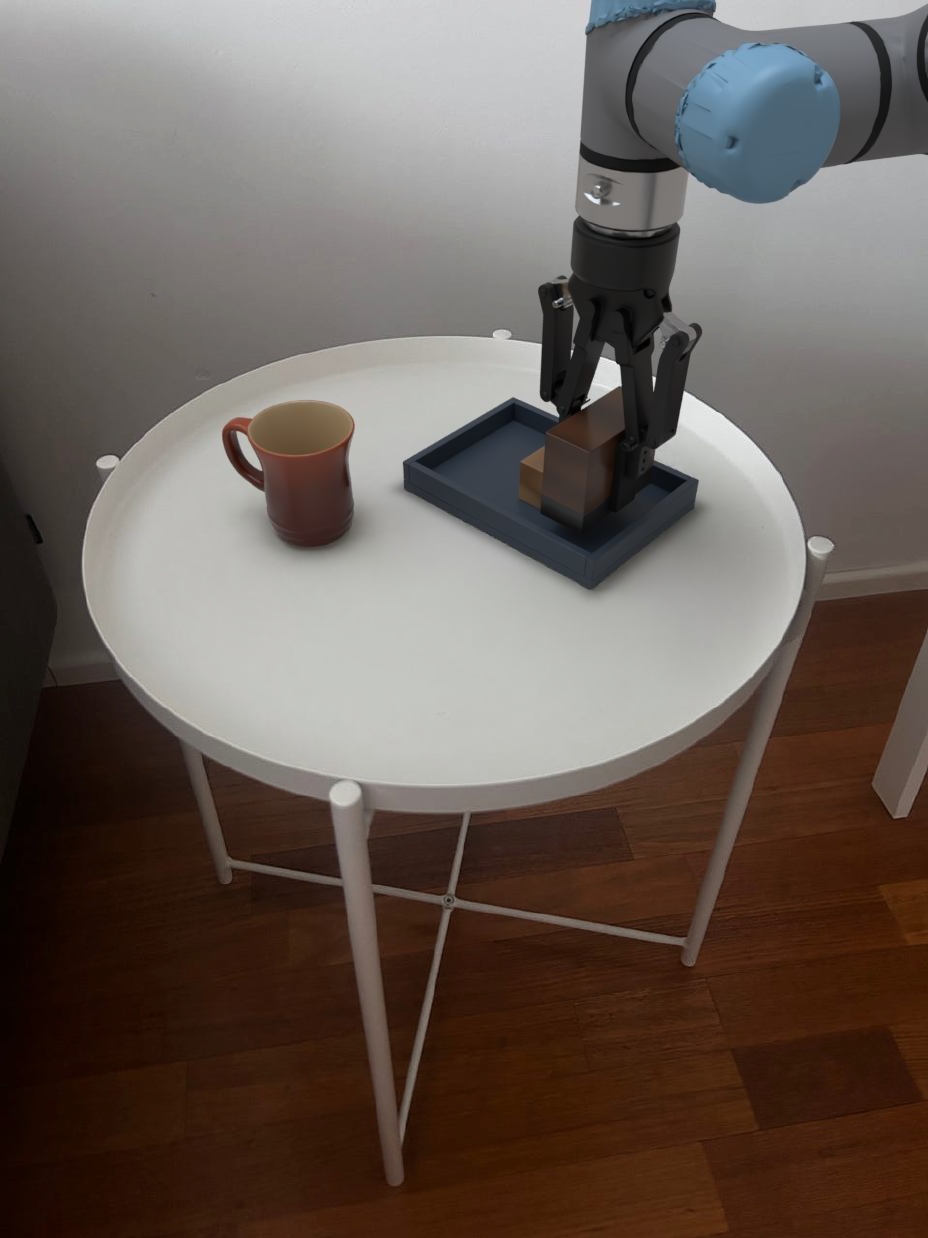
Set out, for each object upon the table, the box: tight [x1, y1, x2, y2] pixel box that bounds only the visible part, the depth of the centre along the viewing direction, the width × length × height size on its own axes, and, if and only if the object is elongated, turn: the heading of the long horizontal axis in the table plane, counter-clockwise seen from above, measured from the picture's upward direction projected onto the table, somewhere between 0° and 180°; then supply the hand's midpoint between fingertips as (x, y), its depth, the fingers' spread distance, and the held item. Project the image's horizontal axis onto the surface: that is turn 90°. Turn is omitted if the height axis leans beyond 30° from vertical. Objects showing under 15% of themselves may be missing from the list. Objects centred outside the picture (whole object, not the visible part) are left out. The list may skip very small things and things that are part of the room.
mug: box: [221, 399, 356, 548], centre depth 86 cm, size 12×9×10 cm
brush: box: [540, 385, 657, 535], centre depth 84 cm, size 10×4×8 cm, turn 138°
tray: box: [402, 396, 700, 591], centre depth 91 cm, size 22×16×3 cm
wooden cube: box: [519, 446, 545, 509], centre depth 89 cm, size 4×4×4 cm
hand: (597, 491), depth 86 cm, fingers closed on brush, 4 cm apart
